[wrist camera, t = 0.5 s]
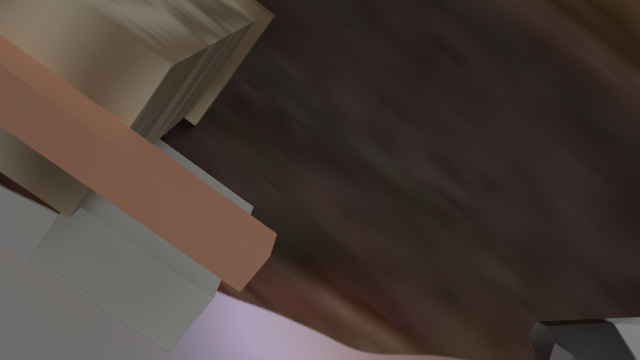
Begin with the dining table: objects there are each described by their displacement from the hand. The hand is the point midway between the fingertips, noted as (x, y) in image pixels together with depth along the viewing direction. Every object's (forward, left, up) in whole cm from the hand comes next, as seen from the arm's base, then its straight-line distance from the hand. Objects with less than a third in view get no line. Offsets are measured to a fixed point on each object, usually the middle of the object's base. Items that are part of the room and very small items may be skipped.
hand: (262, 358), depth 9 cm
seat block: (+18, -13, -46) cm, 51 cm away
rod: (+3, -13, -20) cm, 24 cm away
